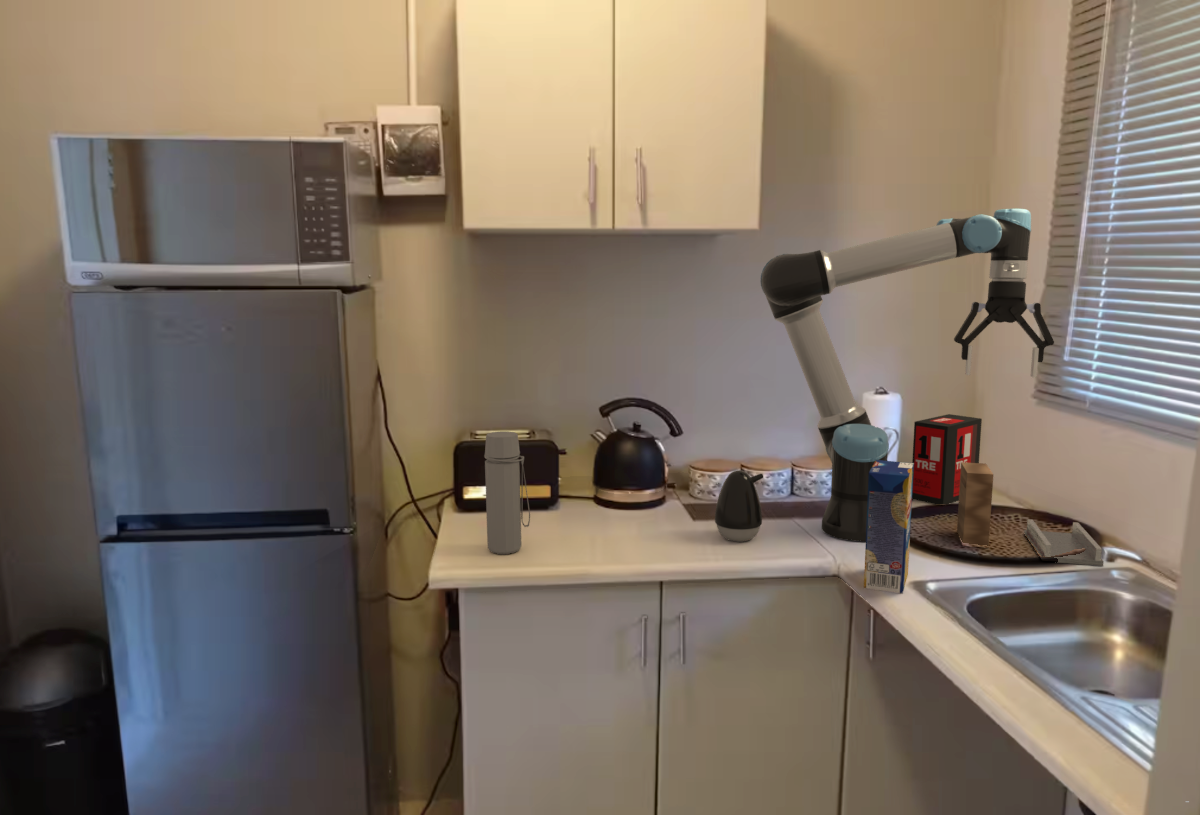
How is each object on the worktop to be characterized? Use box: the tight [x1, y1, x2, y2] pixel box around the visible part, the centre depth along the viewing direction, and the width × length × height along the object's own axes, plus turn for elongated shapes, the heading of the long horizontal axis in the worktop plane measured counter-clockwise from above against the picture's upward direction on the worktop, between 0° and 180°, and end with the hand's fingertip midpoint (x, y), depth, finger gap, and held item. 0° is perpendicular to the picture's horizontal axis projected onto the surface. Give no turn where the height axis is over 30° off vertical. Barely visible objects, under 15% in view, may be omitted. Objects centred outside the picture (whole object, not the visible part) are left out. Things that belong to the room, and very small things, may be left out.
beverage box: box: [863, 460, 914, 594], centre depth 160 cm, size 7×11×22 cm, turn 156°
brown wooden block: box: [956, 462, 994, 546], centre depth 184 cm, size 5×10×16 cm, turn 164°
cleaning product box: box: [911, 413, 983, 505], centre depth 218 cm, size 16×9×20 cm, turn 129°
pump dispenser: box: [714, 469, 764, 543], centre depth 187 cm, size 10×10×15 cm
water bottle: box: [483, 430, 531, 555], centre depth 179 cm, size 9×8×25 cm
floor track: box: [1023, 519, 1105, 567], centre depth 178 cm, size 11×18×4 cm, turn 164°
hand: (1000, 375), depth 193 cm, fingers open, 13 cm apart
